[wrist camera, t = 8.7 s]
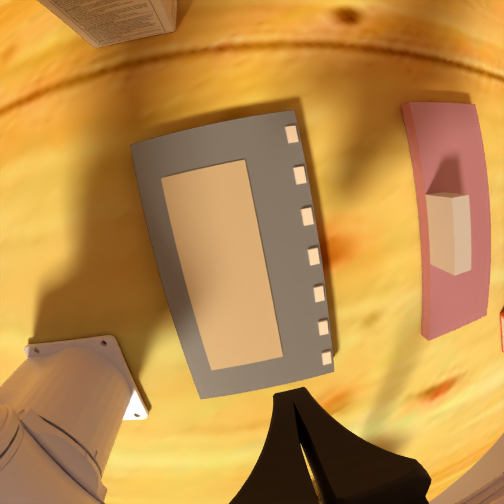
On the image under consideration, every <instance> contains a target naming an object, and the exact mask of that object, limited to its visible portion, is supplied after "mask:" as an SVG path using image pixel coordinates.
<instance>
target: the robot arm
mask: <svg viewBox="0 0 504 504" xmlns="http://www.w3.org/2000/svg"><path fill="white" fill-rule="evenodd" d="M102 341H105V342H106V343H107V344H104V343H103V342H102ZM36 348H37V349H38V350H39V351H38V350H37V349H36ZM25 352H26V354H27V357H28V358H27V359H26V360H25V361H24V363H23V364H22V365H21V366H20V367H19V368H18V369H17V370H16V371H15V372H14V373H13V374H12V375H11V376H10V377H9V378H8V379H7V380H6V381H5V382H4V383H3V385H2V386H1V387H0V504H105V503H104V499H105V496H106V493H107V488H106V487H105V486H104V485H103V484H102V482H101V478H102V475H103V472H104V469H105V466H106V464H107V461H108V458H109V455H110V453H111V450H112V447H113V445H114V442H115V439H116V436H117V434H118V431H119V429H120V426H121V423H122V421H123V420H133V419H146V418H148V415H149V412H148V410H147V408H146V406H145V404H144V402H143V400H142V398H141V395H140V393H139V391H138V389H137V387H136V385H135V383H134V380H133V378H132V376H131V374H130V371H129V369H128V367H127V364H126V362H125V360H124V357H123V355H122V352H121V350H120V347H119V345H118V342H117V340H116V338H115V337H114V336H112V335H103V336H96V337H89V338H81V339H73V340H65V341H56V342H47V343H38V344H28V345H27V346H25ZM136 413H138V414H139V415H138V414H136ZM300 443H301V444H300ZM301 445H302V448H303V450H304V453H305V455H306V458H307V460H308V463H309V466H310V468H311V471H312V473H313V476H314V478H315V481H316V484H317V487H318V490H319V494H320V498H321V501H322V504H429V502H428V501H427V499H426V497H425V496H426V493H427V491H428V489H429V486H430V484H431V478H430V476H429V474H428V473H427V471H426V470H425V469H424V468H423V467H422V465H421V464H420V463H419V462H418V461H417V460H416V459H412V458H408V457H404V456H400V455H397V454H394V453H392V452H389V451H386V450H384V449H382V448H379V447H377V446H375V445H373V444H371V443H369V442H367V441H365V440H363V439H362V438H360V437H358V436H357V435H355V434H354V433H352V432H351V431H349V430H348V429H346V428H345V427H344V426H342V425H341V424H340V423H339V422H337V421H336V420H335V419H334V418H333V417H332V416H330V415H329V414H328V413H327V412H326V411H325V410H324V409H323V408H322V407H321V406H320V405H319V404H318V403H317V402H316V400H315V399H314V398H313V397H312V396H311V394H310V393H309V392H308V390H307V389H306V388H305V387H301V388H297V389H293V390H289V391H284V392H280V393H275V394H274V395H273V412H272V418H271V423H270V428H269V431H268V435H267V438H266V441H265V444H264V447H263V449H262V452H261V454H260V456H259V459H258V461H257V463H256V465H255V467H254V469H253V470H252V472H251V474H250V476H249V477H248V479H247V480H246V482H245V483H244V485H243V486H242V488H241V489H240V491H239V492H238V493H237V495H236V496H235V497H234V498H233V499H232V500H231V502H230V503H229V504H319V501H318V498H317V496H316V493H315V490H314V487H313V484H312V481H311V478H310V475H309V472H308V469H307V465H306V462H305V459H304V456H303V452H302V449H301ZM456 504H504V472H503V473H502V474H500V475H499V476H498V477H496V478H495V479H493V480H492V481H491V482H489V483H488V484H486V485H485V486H483V487H482V488H480V489H479V490H477V491H475V492H474V493H472V494H471V495H469V496H468V497H466V498H464V499H462V500H461V501H459V502H457V503H456Z"/></svg>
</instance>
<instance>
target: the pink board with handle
mask: <svg viewBox="0 0 504 504" xmlns="http://www.w3.org/2000/svg"><path fill="white" fill-rule="evenodd" d="M401 109H402V113H403V118H404V122H405V127H406V132H407V137H408V142H409V148H410V154H411V160H412V166H413V172H414V179H415V187H416V195H417V204H418V214H419V225H420V238H421V257H422V328H421V335H422V336H423V337H425V338H426V339H427V340H428V341H429V340H432V339H434V338H437V337H439V336H442V335H444V334H446V333H449V332H451V331H453V330H456V329H458V328H460V327H462V326H465V325H467V324H469V323H471V322H473V321H476V320H478V319H480V318H482V317H484V316H486V315H487V307H488V296H489V284H490V264H491V220H490V200H489V188H488V177H487V169H486V161H485V154H484V147H483V141H482V135H481V130H480V125H479V120H478V115H477V110H476V106H475V104H466V103H446V102H407V103H405V104H402V105H401Z"/></svg>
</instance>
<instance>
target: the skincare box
mask: <svg viewBox="0 0 504 504" xmlns="http://www.w3.org/2000/svg"><path fill="white" fill-rule="evenodd" d="M37 1H39V2H40V3H41V4H42V5H44V6H45V7H46V8H47V9H49V10H50V11H51V12H52V13H53V14H55V15H56V16H57V17H58V18H60V19H61V20H62V21H63V22H64V23H66V24H67V25H68V26H69V27H70V28H72V29H73V30H74V31H75V32H76V33H78V34H79V35H80V36H81V37H82V38H84V39H85V40H86V41H87V42H88V43H89V44H90V45H92V46H93V47H94V48H99V47H103V46H108V45H112V44H116V43H121V42H125V41H130V40H134V39H139V38H144V37H148V36H153V35H159V34H164V33H169V32H174V31H175V29H176V17H177V0H37Z"/></svg>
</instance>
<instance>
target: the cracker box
mask: <svg viewBox="0 0 504 504" xmlns="http://www.w3.org/2000/svg"><path fill="white" fill-rule="evenodd" d="M500 321H501V337H502V352H504V311H503V312H502V313H501V314H500Z"/></svg>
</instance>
